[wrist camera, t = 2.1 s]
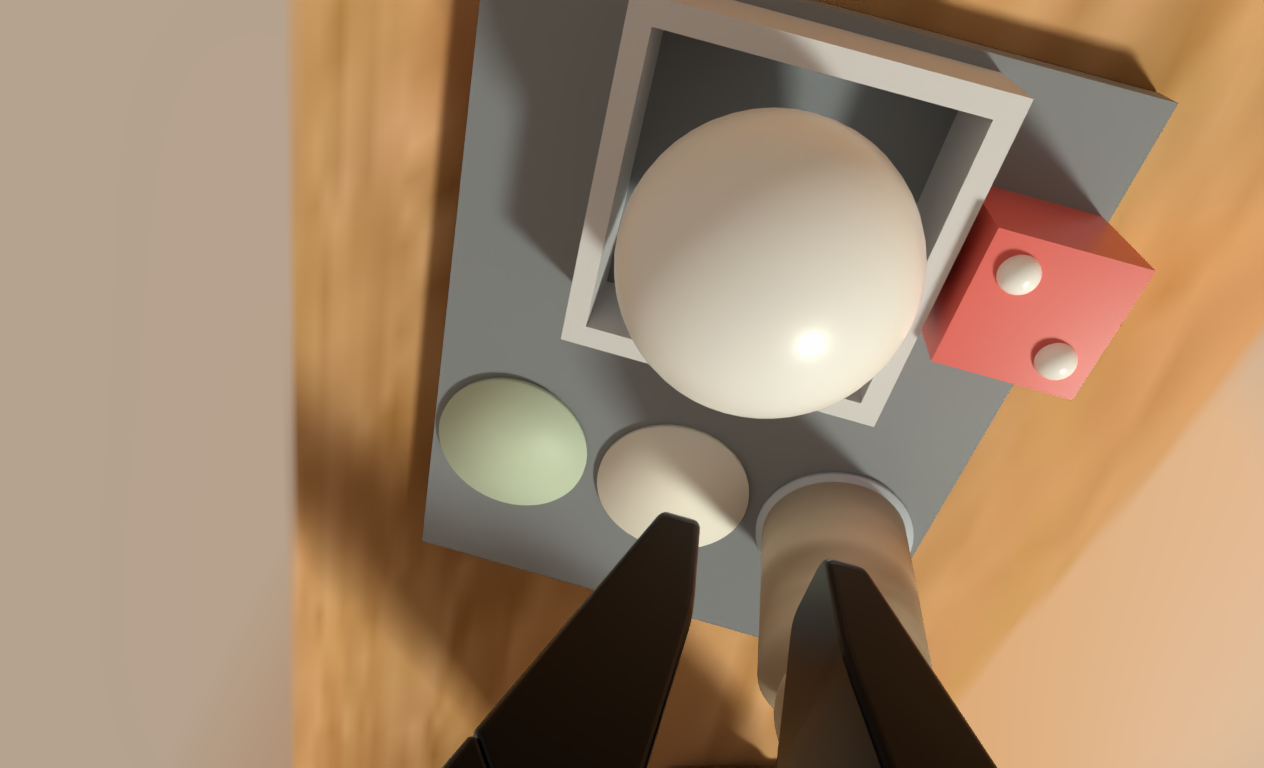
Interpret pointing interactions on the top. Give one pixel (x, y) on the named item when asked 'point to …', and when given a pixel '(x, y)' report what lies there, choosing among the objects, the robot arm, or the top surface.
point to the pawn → (820, 530)
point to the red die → (1034, 294)
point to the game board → (586, 294)
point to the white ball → (770, 263)
